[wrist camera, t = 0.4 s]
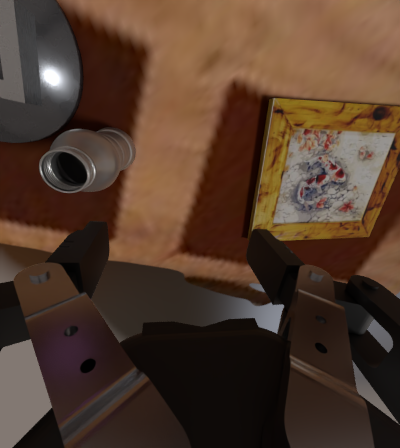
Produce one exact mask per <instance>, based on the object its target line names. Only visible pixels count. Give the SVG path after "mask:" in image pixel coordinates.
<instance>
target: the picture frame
mask: <svg viewBox="0 0 400 448" xmlns="http://www.w3.org/2000/svg"><path fill="white" fill-rule="evenodd" d="M399 167H400V107H397V106H382V105H368V104H354V103H339V102H325V101H310V100H296V99H281V98H272V99H269V105H268V111H267V118H266V124H265V131H264V137H263V143H262V150H261V156H260V162H259V169H258V175H257V182H256V188H255V194H254V201H253V207H252V213H251V220H250V226H249V232H248V240H250V237H251V233H252V230H253V229H267V230H268V231H269V232H270V233H271V234H272V235H273V236H274V237H275V238H277V239H278V240H280V241H282V240H305V239H328V238H351V237H369V235H370V233H371V230H372V228H373V226H374V224H375V221H376V219H377V217H378V215H379V212H380V210H381V208H382V206H383V203H384V201H385V199H386V196H387V194H388V192H389V190H390V187H391V185H392V183H393V181H394V178H395V176H396V174H397V172H398V169H399Z"/></svg>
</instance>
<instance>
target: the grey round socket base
mask: <svg viewBox="0 0 400 448" xmlns="http://www.w3.org/2000/svg"><path fill="white" fill-rule="evenodd" d="M82 91H83V65H82V59H81V54H80V50H79V47H78V43H77V40H76V37H75V35H74V32H73V30H72V27H71V25H70V23H69V21H68V19H67V17H66V15H65V13H64V12H63V10H62V8H61V7H60V5H59V4H58V2H57V1H56V0H0V141H3V142H11V143H23V142H31V141H38V140H42V139H45V138H48V137H50V136H52V135H54V134H56V133H57V132H59V131H60V130H62V129H63V128H64V127H65V126H66V125H67V124H68V123H69V122H70V120H71V119H72V118H73V116H74V115H75V113H76V111H77V109H78V106H79V103H80V100H81V96H82Z"/></svg>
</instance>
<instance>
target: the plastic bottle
mask: <svg viewBox="0 0 400 448" xmlns="http://www.w3.org/2000/svg"><path fill="white" fill-rule="evenodd" d="M135 155H136V149H135V145H134V143H133V141H132V139H131V138H130V137H129V136H128V135H127V134H126V133H125V132H123V131H122V130H120V129H117V128H112V127H108V128H103V129H100V130H99V131H97V132H94V131H91V130H86V129H72V130H68V131H65V132H64V133H62V134H60V135H59V136H58V137H57V138H56V139H55V140H54V142H53V143H52V145H51V147H50V151H49V152H47V153H46V154H44V155H43V157H42V158H41V160H40V163H39V171H40V174H41V176H42V178H43V180H44V181H45V182H46V183H47V184H48V185H49V186H50V187H52V188H53V189H55V190H57V191H60V192H64V193H75V192H78V191H86V192H93V191H100V190H103V189H105V188H107V187H109V186H110V185H111V184H112V183H113V182H114V181H115V179H116V178H117V176H118V174H119V171H121V170H124V169H126V168H128V167H129V166H130V165H131V164H132V163H133V161H134V159H135Z"/></svg>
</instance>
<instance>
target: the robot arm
mask: <svg viewBox="0 0 400 448" xmlns="http://www.w3.org/2000/svg"><path fill="white" fill-rule="evenodd" d="M108 257H109V238H108V226H107V223H106V222H97V221H90V222H89V223H88V224H87V225H86V227H85V228H84V229H83V230H77V231H76V232H74V233H72V234H70V235H68V237H67V238H66V239H65V240H64V242H62V243H61V245H60V246H59V247H58V248H57V249H56V250H55V251H54V253H53V254H52V255H51V256H50V257H49V258H48V260H47V261H46V262H45V263H40V264H36V265H33V266H30V267H28V268H26V269H24V270H22V271H21V272H19V273H18V274H17V275H16V276H15V278H14V281H10V282H5V283H0V351H1V349H2V348H3V347H5V346H9V345H12V344H15V343H19V342H22V341H26V340H29V339H31V341H32V343H33V347H34V350H35V353H36V357H37V360H38V363H39V366H40V370H41V372H42V376H43V379H44V382H45V385H46V389H47V392H48V395H49V398H50V402H51V405H52V408H51V409H50V410H49V411H48V412H47V413H46V415H44V416H43V417H42V418H41V419H40V420H39V421H38V422H37V423H36V424H35V425H34V426H33V427H32V428H31V430H29V432H27V433H26V435H24V437H23V438H22V439H21V440H20V441H19V442H18V443H17V444H16V445H15V446H14V447H13V448H400V425H399V424H400V299H399V298H397V297H396V296H395V295H394V294H393V293H391V292H390V291H389V290H387V289H386V288H385V287H384V286H382V285H381V284H379V283H378V282H376V281H374V280H372V279H370V278H367V277H364V276H360V275H353V276H351V278H350V280H349V281H348V283H347V284H346V283H342V282H337V281H333V278H332V277H331V276H330V275H329V274H328V273H327V272H326V271H324V270H322V269H320V268H318V267H315V266H311V265H305V264H304V263H303V262H302V261H301V260H300V259H299V258H298V257H297V256H296V255H295V254H294V253H292V251H291V250H290V249H289V248H288V247H287V246H286V245H285V244H284V243H283V242H282V241H280V240H278V239H277V238H275V237H274V236H273V235H272V234H271V233H270V232H269V231H268V230H267V229H253V230H252V233H251V237H250V240H249V244H248V248H247V253H246V257H247V262H248V263H249V265H250V267H251V268H252V270H253V272H254V274H255V275H256V277H257V279H258V280H259V282H260V284H261V285H262V287H263V289H264V290H265V292H266V294H267V296H268V297H269V299H270V301H271V302H272V304H273V305H277V304H278V305H279V304H283V305H284V308H283V311H282V315H281V319H280V323H279V328H278V332H277V334H276V333H274V332H272V331H269V330H267V329H263V328H259V327H258V325H257V323H256V321H255V318H246V319H228V320H225V321H222V322H218V323H215V324H212V325H208V326H205V327H200V326H194V325H188V324H183V323H178V322H150V323H143V331H142V333H140V334H137V335H134V336H131V337H129V338H127V339H125V340H123V341H122V342H120V343H119V342H118V340H117V339H116V337H115V336H114V334H113V333H112V331H111V330H110V328H109V327H108V325H107V324H106V322H105V321H104V319H103V318H102V316H101V315H100V313H99V311H98V310H97V308H96V307H95V305H94V304H93V302H92V301H91V298H92V296H93V293H94V291H95V289H96V286H97V284H98V282H99V279H100V277H101V275H102V272H103V270H104V268H105V265H106V262H107V261H108ZM373 319H375V320H376V321H377V322H378V323H379V324H380V325H381V326H382V327H383V328H384V329H385V330H386V331H387V332H388V333H389V334H390V335H391V337H392V340H393V348H392V349H391V351H390V352H389V353H388V352H387V351H386V350H385V349H384V348H383V347H382V346H381V344H380V343H379V342H378V341H377V340H376V339H375V338H374V337H373V336H372V335H371V334H370V332H369V331H368V330H367V328H368V327H369V325H370V324H371V322H372V321H373ZM352 360H353V362H354V363H355V364H356V366H357V367H358V368H359V370H360V371H361V373H362V374H363V375H364V377H365V378H366V379H367V380H368V382H369V383H370V385H371V386H372V387H373V389H374V390H375V392H376V393H377V394H378V396H379V397H380V398H381V400H382V401H383V402H384V404H385V405H386V406H387V408H388V409H389V411H390V412H391V413H392V415H393V416H394V417H395V419H396V420H397V421H398V423H399V424H398V423H396V422H395V421H393V420H392V419H391V418H390V417H389V416H387V415H386V414H385V413H383V412H382V411H381V410H379V409H378V408H377V407H375V406H374V405H373V404H371V403H370V402H369V401H367V400H366V399H365V398H363V397H362V396H361V395H359V394H358V392H357V388H356V382H355V375H354V369H353V362H352Z"/></svg>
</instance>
